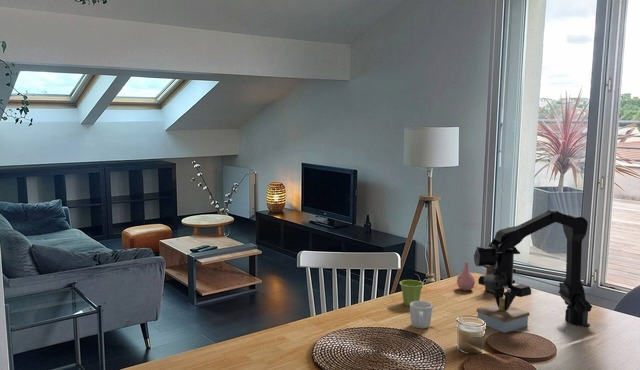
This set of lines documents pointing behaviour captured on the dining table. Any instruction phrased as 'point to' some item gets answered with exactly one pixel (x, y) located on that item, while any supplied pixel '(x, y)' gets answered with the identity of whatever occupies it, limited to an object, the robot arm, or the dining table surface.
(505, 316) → the lid
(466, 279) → the pink teardrop shape
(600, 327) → the dining table surface
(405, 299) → the plant pot
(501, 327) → the box
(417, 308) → the cup
